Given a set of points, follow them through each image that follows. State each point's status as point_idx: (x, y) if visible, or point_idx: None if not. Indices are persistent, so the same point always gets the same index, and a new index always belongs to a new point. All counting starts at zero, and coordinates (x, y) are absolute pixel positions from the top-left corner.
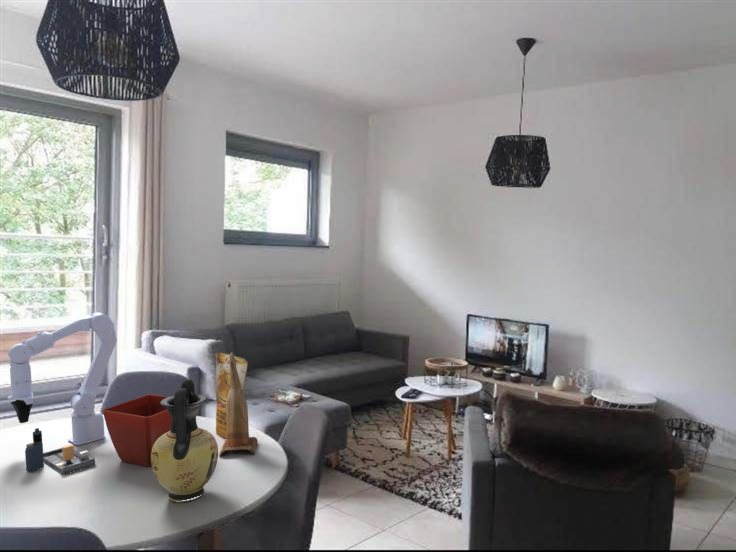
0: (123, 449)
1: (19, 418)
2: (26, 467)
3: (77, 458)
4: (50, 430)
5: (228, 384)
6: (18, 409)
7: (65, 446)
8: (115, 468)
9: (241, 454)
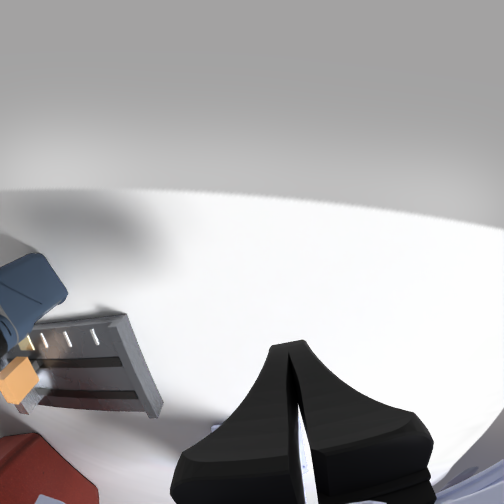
0: (5, 447)
1: (266, 364)
2: (23, 256)
3: (53, 388)
4: (467, 367)
5: None
6: (217, 431)
7: (4, 387)
8: (7, 408)
9: None
